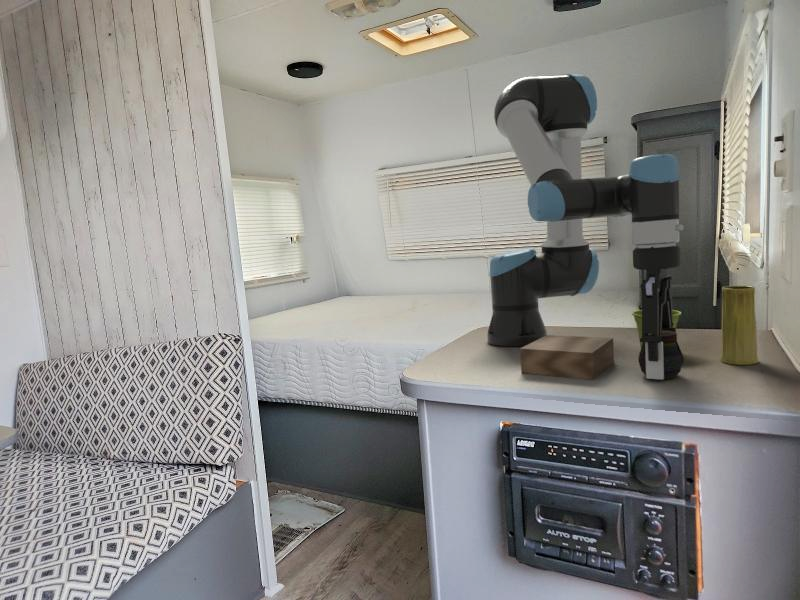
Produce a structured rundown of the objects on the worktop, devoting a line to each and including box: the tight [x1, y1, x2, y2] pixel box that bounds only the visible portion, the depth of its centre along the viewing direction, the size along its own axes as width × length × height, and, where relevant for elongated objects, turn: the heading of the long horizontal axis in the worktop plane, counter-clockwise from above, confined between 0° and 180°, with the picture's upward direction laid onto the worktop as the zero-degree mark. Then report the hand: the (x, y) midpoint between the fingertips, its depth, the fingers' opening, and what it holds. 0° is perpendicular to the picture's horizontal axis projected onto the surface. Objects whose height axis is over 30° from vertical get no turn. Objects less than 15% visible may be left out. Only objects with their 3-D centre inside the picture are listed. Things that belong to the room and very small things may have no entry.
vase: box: [719, 285, 759, 366], centre depth 99 cm, size 6×6×14 cm
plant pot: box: [631, 309, 682, 349], centre depth 111 cm, size 9×9×9 cm
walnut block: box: [519, 334, 615, 380], centre depth 105 cm, size 14×14×5 cm
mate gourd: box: [638, 331, 685, 380], centre depth 94 cm, size 7×8×10 cm
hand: (659, 372), depth 94 cm, fingers closed on mate gourd, 7 cm apart
